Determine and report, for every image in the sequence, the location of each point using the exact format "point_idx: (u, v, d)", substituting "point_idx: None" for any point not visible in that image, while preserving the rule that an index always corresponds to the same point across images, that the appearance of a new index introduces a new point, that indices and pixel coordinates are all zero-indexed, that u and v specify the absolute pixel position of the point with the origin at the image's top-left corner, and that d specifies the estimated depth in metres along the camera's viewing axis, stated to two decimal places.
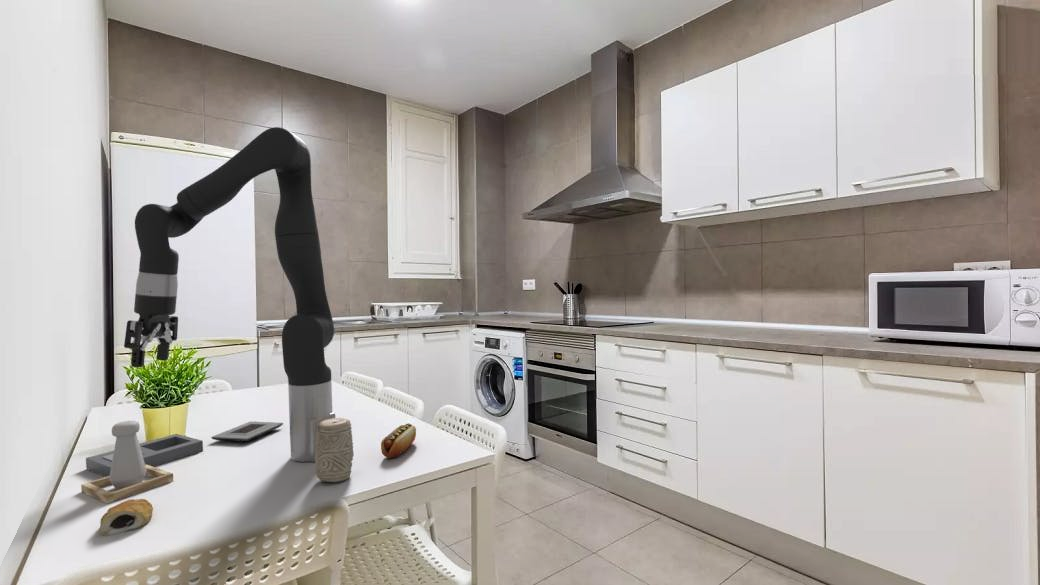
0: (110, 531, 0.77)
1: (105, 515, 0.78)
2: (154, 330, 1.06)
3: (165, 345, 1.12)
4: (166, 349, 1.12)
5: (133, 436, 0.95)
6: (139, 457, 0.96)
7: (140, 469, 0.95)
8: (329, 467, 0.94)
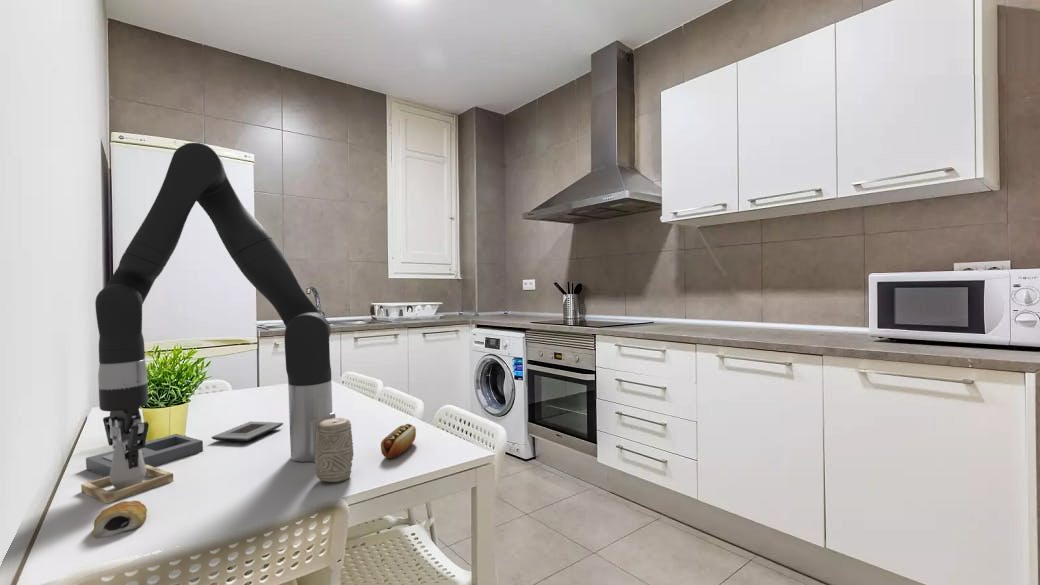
0: (105, 533, 0.77)
1: (99, 517, 0.77)
2: None
3: None
4: None
5: None
6: (139, 457, 0.96)
7: (140, 469, 0.95)
8: (329, 467, 0.94)
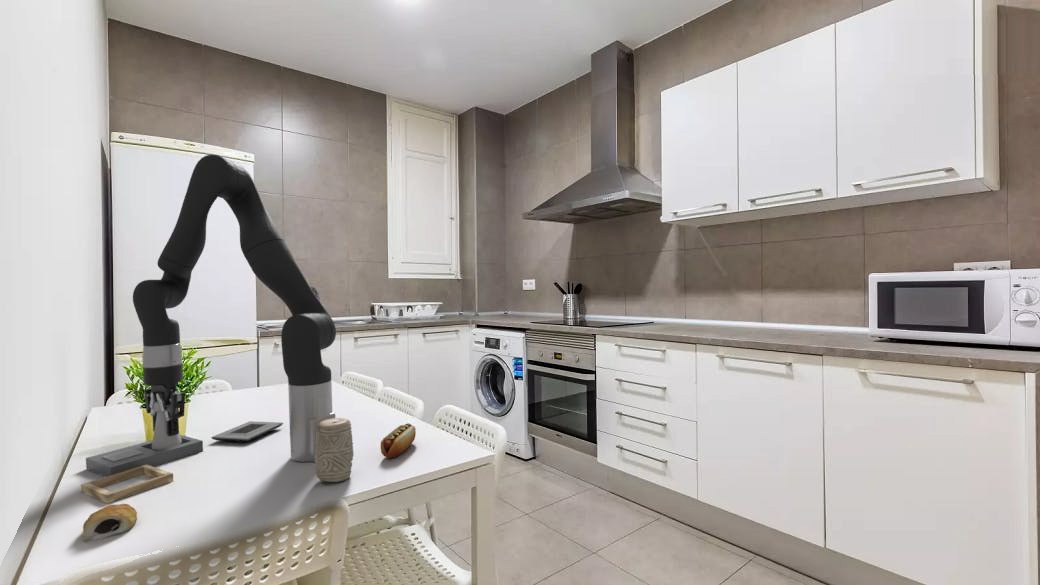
0: (95, 537, 0.76)
1: (88, 520, 0.76)
2: None
3: None
4: None
5: None
6: None
7: (177, 439, 1.13)
8: (329, 467, 0.94)
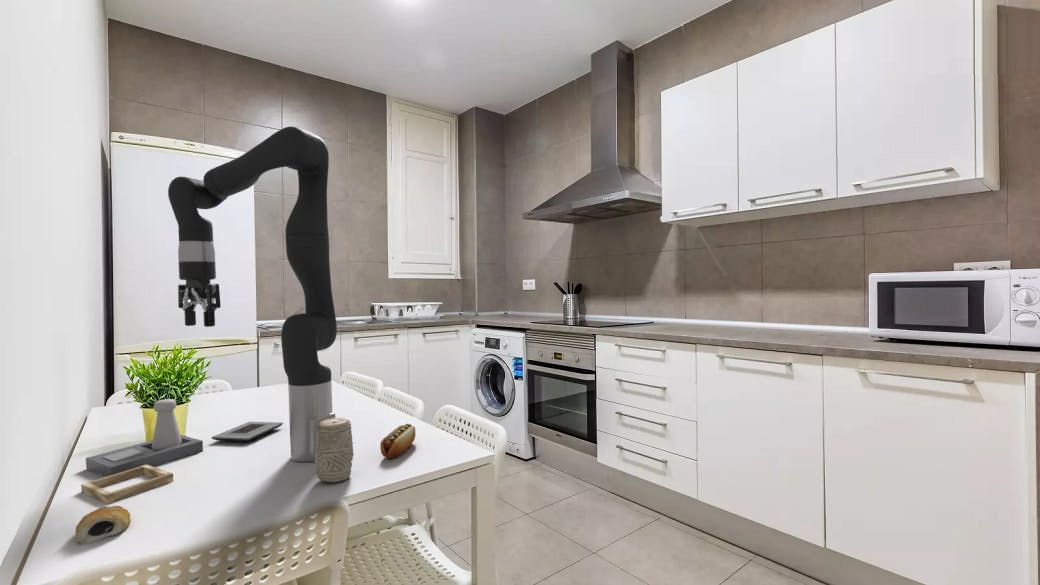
0: (88, 539, 0.75)
1: (81, 523, 0.76)
2: None
3: (192, 311, 1.19)
4: (194, 314, 1.20)
5: (171, 412, 1.13)
6: (176, 429, 1.13)
7: (177, 439, 1.13)
8: (329, 467, 0.94)
